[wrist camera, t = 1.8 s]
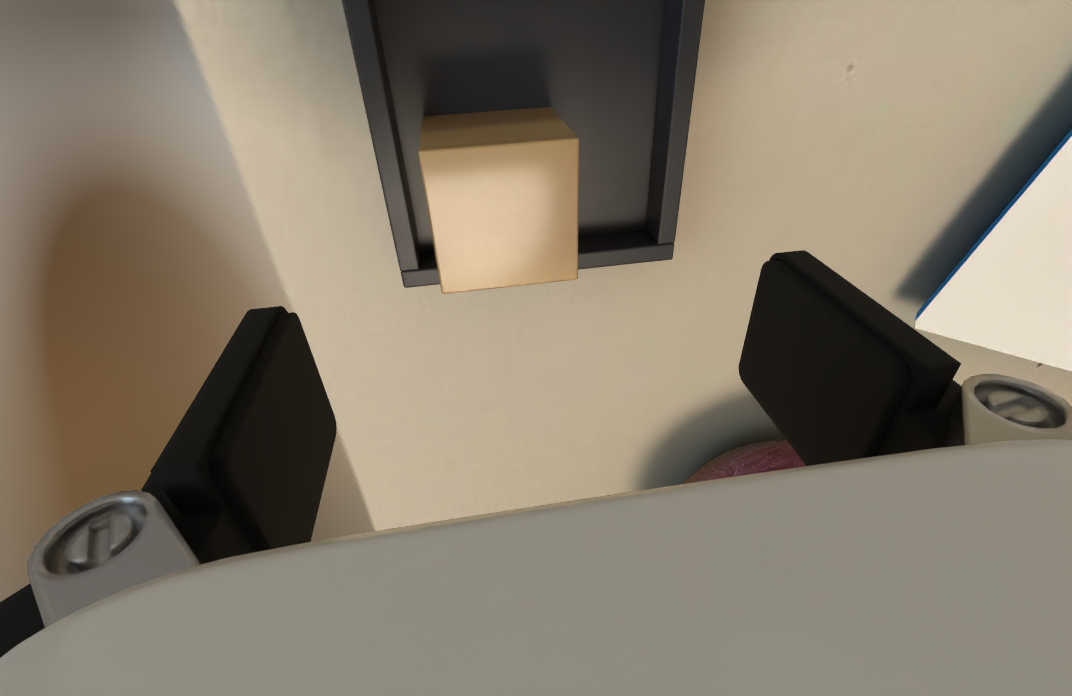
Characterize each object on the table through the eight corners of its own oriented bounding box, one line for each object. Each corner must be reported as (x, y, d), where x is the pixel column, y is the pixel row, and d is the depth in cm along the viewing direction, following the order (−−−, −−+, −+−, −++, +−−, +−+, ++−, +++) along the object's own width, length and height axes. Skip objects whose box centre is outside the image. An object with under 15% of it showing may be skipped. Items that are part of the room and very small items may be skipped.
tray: (282, -343, 12) (255, -397, 10) (713, -339, 13) (754, -386, 11) (406, 263, 21) (403, 288, 19) (655, 238, 22) (673, 260, 20)
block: (422, 116, 17) (417, 150, 14) (551, 106, 18) (579, 137, 14) (441, 238, 20) (442, 294, 16) (554, 227, 20) (578, 280, 17)
